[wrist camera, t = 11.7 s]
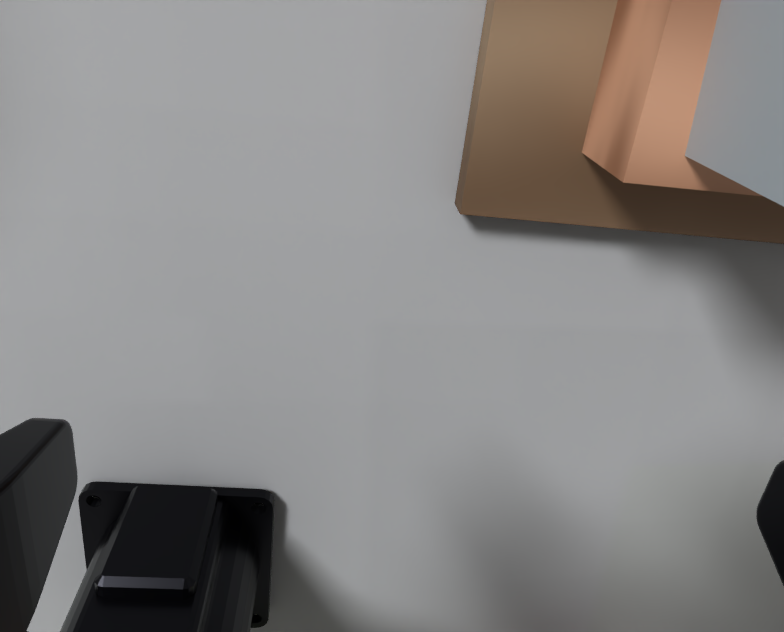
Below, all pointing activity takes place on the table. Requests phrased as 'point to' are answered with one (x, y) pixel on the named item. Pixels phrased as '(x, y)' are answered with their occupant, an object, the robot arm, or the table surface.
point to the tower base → (549, 132)
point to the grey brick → (744, 98)
